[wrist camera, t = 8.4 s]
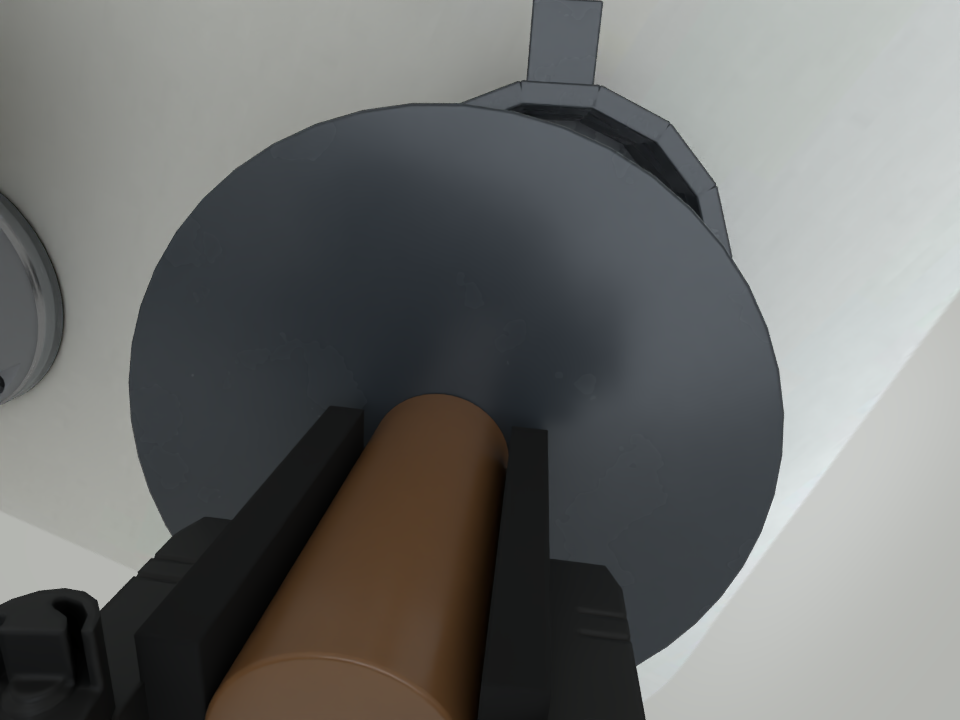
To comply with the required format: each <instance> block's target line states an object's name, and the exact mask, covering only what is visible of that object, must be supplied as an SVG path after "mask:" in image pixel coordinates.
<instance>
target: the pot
mask: <svg viewBox="0 0 960 720" xmlns="http://www.w3.org/2000/svg"><path fill="white" fill-rule="evenodd" d="M602 7H603V1H598V0H533V8H532V20H531V32H530V45H529V57H528V69H527V80H522V81H521V82H520V81H517V82H514V83H512V84H509V85H506V86H504V87H501V88H499V89H496V90H493V91H491V92H488V93H485V94H483V95H480V96H478V97H475V98H472V99H470V100H467V101H465V102H462V103H463V104H470V105H477V106H484V107H490V108H497V109H504V110H511V111H515V112H519V113H522V114H526V115H529V116H532V117H536V118H539V119H542V120H546V121H549V122H553V123H556V124H559V125H563V126H565V127H567V128H569V129H572V130H574V131H576V132H578V133H580V134H583V135H585V136H587V137H589V138H591V139H593V140H596V141H598V142H600V143H602V144H604V145H606V146H609V147H611V148H612V149H614V150H615V151H617V152H619V153H620V154H622V155H623V156H625V157H626V158H628V159H629V160H631V161H633V162H634V163H636V164H637V165H639V166H640V167H642V168H643V169H645V170H646V171H648V172H650V173H651V174H653V175H654V176H655V177H656V178H658V179H659V180H660V181H661V182H662V183H663V184H664V185H666V186H667V187H668V188H669V189H670V190H671V191H673V192H674V193H675V194H676V195H677V196H678V197H679V198H681V199H682V200H683V201H684V202H685V203H686V204H687V205H689V206H690V207H691V208H692V209H693V210H694V211H695V213H696V214H697V215H698V216H699V217H700V218H701V220H702V221H703V222H704V223H705V224H706V225H707V227H708V228H709V229H710V230H711V231H712V232H713V234H714V235H715V236H716V237H717V238H718V239H719V240H720V242H721V243H722V244H723V245H724V247H725V248H726V250H727V251H728V253H729V255H730V256H731V258H732V253H731V248H730V243H729V239H728V234H727V229H726V225H725V220H724V215H723V211H722V206H721V201H720V196H719V192H718V187H717V186H716V183H715V182H714V180H713V179H712V177H711V176H710V175H709V173H708V172H707V171H706V169H705V168H704V167H703V165H702V164H701V163H700V161H699V160H698V159H697V157H696V156H695V155H694V153H693V152H692V151H691V149H690V148H689V147H688V145H687V144H686V143H685V141H684V140H683V139H682V137H681V136H680V135H679V133H678V132H677V130H676V129H675V128H674V126H673V125H672V124H670V122H669V121H667V120H665V119H663V118H661V117H660V116H658V115H656V114H654V113H652V112H650V111H648V110H647V109H645V108H643V107H641V106H639V105H637V104H635V103H633V102H632V101H630V100H628V99H626V98H624V97H622V96H620V95H619V94H617V93H615V92H613V91H611V90H609V89H607V88H606V87H604V86H599V85H594V76H595V68H596V59H597V50H598V42H599V33H600V25H601V16H602Z"/></svg>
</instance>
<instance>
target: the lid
mask: <svg viewBox="0 0 960 720" xmlns="http://www.w3.org/2000/svg"><path fill="white" fill-rule="evenodd" d="M129 395H130V412H131V423H132V428H133V433H134V438H135V443H136V449H137V454H138V458H139V461H140V464H141V467H142V470H143V473H144V476H145V479H146V482H147V485H148V488H149V491H150V494H151V496H152V498H153V500H154V502H155V504H156V506H157V508H158V511H159V513H160V515H161V517H162V519H163V521H164V523H165V525H166V527H167V528H168V530H169V532H170V533H171V535H172V536H173V535H174V534H175V533H177V532H178V531H180V530H182V529H184V528H185V527H187V526H189V525H191V524H192V523H194V522H196V521H198V520H200V519H201V518H203V517H205V516H206V517H213V518H221V519H229V520H232V519H233V518H234V517H235V516H236V515H237V513H238V512H239V511H240V510H241V509H242V507H243V506H244V505H245V504H246V503H247V502H248V500H249V499H250V498H251V497H252V496H253V495H254V493H255V492H256V491H257V490H258V489H259V488H260V486H261V485H262V484H263V483H264V482H265V481H266V479H267V478H268V477H269V476H270V475H271V474H272V472H273V471H274V470H275V469H276V468H277V467H278V465H279V464H280V463H281V462H282V461H283V460H284V458H285V457H286V456H287V455H288V454H289V453H290V451H291V450H292V449H293V448H294V447H295V446H296V444H297V443H298V442H299V441H300V440H301V439H302V437H303V436H304V435H305V434H306V433H307V432H308V430H309V429H310V428H311V427H312V426H313V425H314V423H315V422H316V421H317V420H318V419H319V418H320V416H321V415H322V414H323V413H324V412H325V411H326V409H327V408H328V407H329V406H339V407H348V408H357V409H364V450H363V452H362V453H361V455H360V457H359V458H358V460H357V462H356V463H355V465H354V466H353V468H352V470H351V471H350V473H349V475H348V476H347V478H346V480H345V481H344V483H343V484H342V486H341V488H340V489H339V491H338V493H337V494H336V496H335V498H334V499H333V501H332V502H331V504H330V506H329V507H328V509H327V511H326V512H325V514H324V516H323V517H322V519H321V520H320V522H319V524H318V525H317V527H316V529H315V530H314V532H313V533H312V535H311V537H310V538H309V540H308V542H307V543H306V545H305V547H304V548H303V550H302V551H301V553H300V555H299V556H298V558H297V560H296V561H295V563H294V565H293V566H292V568H291V569H290V571H289V573H288V574H287V576H286V578H285V579H284V581H283V583H282V584H281V586H280V587H279V589H278V591H277V592H276V594H275V596H274V597H273V599H272V601H271V602H270V604H269V605H268V607H267V609H266V610H265V612H264V614H263V615H262V617H261V618H260V620H259V622H258V623H257V625H256V627H255V628H254V630H253V632H252V633H251V635H250V636H249V638H248V640H247V641H246V643H245V645H244V646H243V648H242V650H241V651H240V653H239V654H238V656H237V658H236V659H235V661H234V663H233V664H232V666H231V668H230V669H229V671H228V672H227V674H226V676H225V677H224V679H223V681H222V682H221V684H220V686H219V687H218V689H217V690H216V692H215V694H214V696H213V697H212V699H211V701H210V703H209V706H208V709H207V711H206V715H205V720H478V711H479V701H480V691H481V681H482V673H483V665H484V656H485V648H486V640H487V631H488V623H489V615H490V606H491V598H492V590H493V581H494V573H495V565H496V556H497V548H498V540H499V531H500V523H501V514H502V506H503V498H504V489H505V481H506V473H507V464H508V456H509V448H510V439H511V431H512V426H516V427H525V428H533V429H542V430H548V468H549V547H550V559H558V560H565V561H573V562H581V563H589V564H596V565H604V566H606V567H607V568H608V570H609V571H610V573H611V574H612V575H613V577H614V578H615V580H616V581H617V582H618V584H619V585H620V587H621V588H622V591H623V596H624V602H625V608H626V613H627V620H628V624H629V630H630V635H631V638H630V641H631V642H632V647H633V652H634V658H635V663H636V666H637V665H639V664H640V663H642V662H644V661H645V660H647V659H648V658H650V657H652V656H653V655H655V654H656V653H658V652H660V651H661V650H663V649H664V648H666V647H667V646H669V645H670V644H671V643H672V642H674V641H675V640H676V639H677V638H679V637H680V636H681V635H682V634H684V633H685V632H686V631H687V630H689V629H690V628H691V627H692V626H693V625H695V624H696V623H697V622H698V621H699V620H700V619H701V618H702V617H703V615H704V614H705V613H706V612H707V611H708V610H709V609H710V608H711V607H712V606H713V605H714V604H715V603H716V602H717V601H718V600H719V599H720V598H721V596H722V595H723V594H724V592H725V591H726V590H727V588H728V587H729V585H730V584H731V583H732V581H733V580H734V578H735V577H736V576H737V574H738V573H739V572H740V570H741V569H742V567H743V566H744V564H745V562H746V560H747V558H748V556H749V555H750V553H751V551H752V549H753V547H754V545H755V543H756V541H757V539H758V538H759V536H760V534H761V532H762V529H763V526H764V523H765V520H766V517H767V515H768V512H769V509H770V506H771V503H772V501H773V498H774V495H775V489H776V484H777V479H778V474H779V469H780V464H781V459H782V447H783V423H784V410H783V401H782V392H781V383H780V374H779V368H778V364H777V361H776V357H775V353H774V350H773V346H772V342H771V338H770V335H769V331H768V327H767V325H766V323H765V321H764V318H763V316H762V314H761V312H760V309H759V307H758V305H757V302H756V300H755V298H754V296H753V293H752V291H751V289H750V287H749V285H748V283H747V281H746V280H745V278H744V277H743V275H742V274H741V272H740V270H739V269H738V267H737V266H736V264H735V262H734V261H733V259H732V258H731V256H730V255H729V253H728V251H727V250H726V248H725V247H724V245H723V244H722V243H721V242H720V240H719V239H718V238H717V237H716V236H715V235H714V234H713V232H712V231H711V230H710V229H709V228H708V227H707V225H706V224H705V223H704V222H703V221H702V220H701V218H700V217H699V216H698V215H697V214H696V213H695V211H694V210H693V209H692V208H691V207H690V206H689V205H687V204H686V203H685V202H684V201H683V200H682V199H681V198H679V197H678V196H677V195H676V194H675V193H674V192H673V191H671V190H670V189H669V188H668V187H667V186H666V185H664V184H663V183H662V182H661V181H660V180H659V179H658V178H656V177H655V176H654V175H653V174H651V173H650V172H648V171H646V170H645V169H643V168H642V167H640V166H639V165H637V164H636V163H634V162H633V161H631V160H629V159H628V158H626V157H625V156H623V155H622V154H620V153H619V152H617V151H615V150H614V149H612V148H611V147H609V146H606V145H604V144H602V143H600V142H598V141H596V140H593V139H591V138H589V137H587V136H585V135H583V134H580V133H578V132H576V131H574V130H572V129H569V128H567V127H565V126H563V125H559V124H556V123H553V122H549V121H546V120H542V119H539V118H536V117H532V116H529V115H526V114H522V113H519V112H515V111H511V110H504V109H497V108H490V107H484V106H477V105H470V104H463V103H409V104H402V105H395V106H388V107H381V108H374V109H367V110H361V111H358V112H354V113H351V114H348V115H344V116H341V117H337V118H334V119H331V120H327V121H324V122H320V123H317V124H314V125H312V126H310V127H308V128H306V129H304V130H302V131H299V132H297V133H295V134H293V135H291V136H289V137H287V138H284V139H282V140H280V141H278V142H276V143H274V144H272V145H271V146H269V147H268V148H266V149H265V150H263V151H262V152H260V153H259V154H257V155H256V156H254V157H253V158H251V159H250V160H248V161H246V162H245V163H243V164H242V165H240V166H239V167H237V168H236V169H235V170H234V171H233V172H231V173H230V174H229V175H228V176H227V177H226V178H225V179H224V180H223V181H222V182H220V183H219V184H218V185H217V186H216V187H215V188H214V189H213V190H212V191H211V192H210V193H208V194H207V195H206V196H205V197H204V198H203V199H202V200H201V202H200V203H199V204H198V205H197V207H196V208H195V209H194V210H193V211H192V213H191V214H190V215H189V216H188V218H187V219H186V220H185V221H184V223H183V224H182V225H181V226H180V228H179V229H178V230H177V231H176V233H175V235H174V236H173V238H172V240H171V242H170V243H169V245H168V247H167V249H166V250H165V252H164V254H163V256H162V257H161V259H160V261H159V262H158V264H157V266H156V268H155V270H154V272H153V275H152V278H151V280H150V283H149V285H148V288H147V290H146V293H145V295H144V298H143V301H142V303H141V306H140V310H139V315H138V319H137V323H136V328H135V332H134V336H133V341H132V348H131V360H130V373H129Z"/></svg>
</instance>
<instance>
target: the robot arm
mask: <svg viewBox="0 0 960 720" xmlns="http://www.w3.org/2000/svg"><path fill="white" fill-rule="evenodd" d="M62 328H63V307H62V299H61V294H60V289H59V284H58V281H57V278H56V275H55V271H54V269H53V266H52V264H51V261H50V259H49V257H48V255H47V253H46V251H45V249H44V247H43V245H42V243H41V242H40V240H39V238H38V236H37V235H36V233H35V232H34V230H33V229H32V227H31V226H30V225H29V223H28V222H27V220H26V219H25V218H24V217H23V216H22V214H21V213H20V212H19V211H18V210H17V208H16V207H15V206H14V205H13V204H12V203H11V202H10V201H9V200H8V199H7V198H6V197H5V196H4V195H3V194H1V193H0V405H1V404H3V403H5V402H8V401H10V400H12V399H14V398H16V397H18V396H20V395H22V394H24V393H26V392H27V391H29V390H30V389H31V388H33V387H34V386H35V385H36V384H37V383H38V382H39V381H40V380H41V379H42V378H43V377H44V376H45V374H46V373H47V372H48V370H49V369H50V367H51V365H52V364H53V362H54V359H55V357H56V355H57V352H58V349H59V346H60V342H61V336H62ZM363 450H364V409H357V408H348V407H339V406H329V407H328V408H327V409H326V411H325V412H324V413H323V414H322V415H321V416H320V418H319V419H318V420H317V421H316V422H315V423H314V425H313V426H312V427H311V428H310V429H309V430H308V432H307V433H306V434H305V435H304V436H303V437H302V439H301V440H300V441H299V442H298V443H297V444H296V446H295V447H294V448H293V449H292V450H291V451H290V453H289V454H288V455H287V456H286V457H285V458H284V460H283V461H282V462H281V463H280V464H279V465H278V467H277V468H276V469H275V470H274V471H273V472H272V474H271V475H270V476H269V477H268V478H267V479H266V481H265V482H264V483H263V484H262V485H261V486H260V488H259V489H258V490H257V491H256V492H255V493H254V495H253V496H252V497H251V498H250V499H249V500H248V502H247V503H246V504H245V505H244V506H243V507H242V509H241V510H240V511H239V512H238V513H237V515H236V516H235V517H234V518H233V519H232V520H229V519H221V518H213V517H206V516H205V517H203V518H201V519H200V520H198V521H196V522H194V523H192V524H191V525H189V526H187V527H185V528H184V529H182V530H180V531H178V532H177V533H175V534H174V535H173V536H172V537H171V538H170V539H169V540H168V541H167V543H166V544H165V545H164V546H163V547H162V548H161V549H160V550H159V551H158V552H157V553H156V554H155V558H151V559H150V560H149V561H148V562H147V563H146V564H145V565H144V566H143V567H142V568H141V569H140V570H139V571H138V575H137V576H136V577H135V576H134V577H132V579H130V580H129V582H128V583H127V584H126V585H125V586H124V587H123V588H122V589H121V590H120V591H119V592H118V593H117V594H116V595H115V596H114V597H113V598H112V599H111V600H110V601H109V602H108V603H107V604H106V605H105V606H104V607H103V608H102V609H101V610H99V606H98V602H97V600H96V599H94V598H93V597H91V596H90V595H89V594H87V593H86V592H84V591H78V590H72V589H67V588H62V589H52V590H42V591H37V592H34V593H30V594H27V595H24V596H20V597H17V598H14V599H11V600H9V601H7V602H5V603H3V604H1V605H0V720H205V715H206V711H207V709H208V706H209V703H210V701H211V699H212V697H213V696H214V694H215V692H216V690H217V689H218V687H219V686H220V684H221V682H222V681H223V679H224V677H225V676H226V674H227V672H228V671H229V669H230V668H231V666H232V664H233V663H234V661H235V659H236V658H237V656H238V654H239V653H240V651H241V650H242V648H243V646H244V645H245V643H246V641H247V640H248V638H249V636H250V635H251V633H252V632H253V630H254V628H255V627H256V625H257V623H258V622H259V620H260V618H261V617H262V615H263V614H264V612H265V610H266V609H267V607H268V605H269V604H270V602H271V601H272V599H273V597H274V596H275V594H276V592H277V591H278V589H279V587H280V586H281V584H282V583H283V581H284V579H285V578H286V576H287V574H288V573H289V571H290V569H291V568H292V566H293V565H294V563H295V561H296V560H297V558H298V556H299V555H300V553H301V551H302V550H303V548H304V547H305V545H306V543H307V542H308V540H309V538H310V537H311V535H312V533H313V532H314V530H315V529H316V527H317V525H318V524H319V522H320V520H321V519H322V517H323V516H324V514H325V512H326V511H327V509H328V507H329V506H330V504H331V502H332V501H333V499H334V498H335V496H336V494H337V493H338V491H339V489H340V488H341V486H342V484H343V483H344V481H345V480H346V478H347V476H348V475H349V473H350V471H351V470H352V468H353V466H354V465H355V463H356V462H357V460H358V458H359V457H360V455H361V453H362V452H363ZM630 638H631V635H630V630H629V624H628V620H627V613H626V608H625V602H624V596H623V591H622V588H621V587H620V585H619V584H618V582H617V581H616V580H615V578H614V577H613V575H612V574H611V573H610V571H609V570H608V568H607V567H606V566H604V565H596V564H589V563H581V562H573V561H565V560H558V559H550V547H549V468H548V430H542V429H533V428H525V427H516V426H512V431H511V439H510V448H509V456H508V464H507V473H506V481H505V489H504V498H503V506H502V514H501V523H500V531H499V540H498V548H497V556H496V565H495V573H494V581H493V590H492V598H491V606H490V615H489V623H488V631H487V640H486V648H485V656H484V665H483V673H482V681H481V691H480V701H479V711H478V720H646V719H645V714H644V708H643V702H642V697H641V691H640V686H639V680H638V675H637V669H636V663H635V658H634V652H633V647H632V642H631V641H630Z"/></svg>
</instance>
